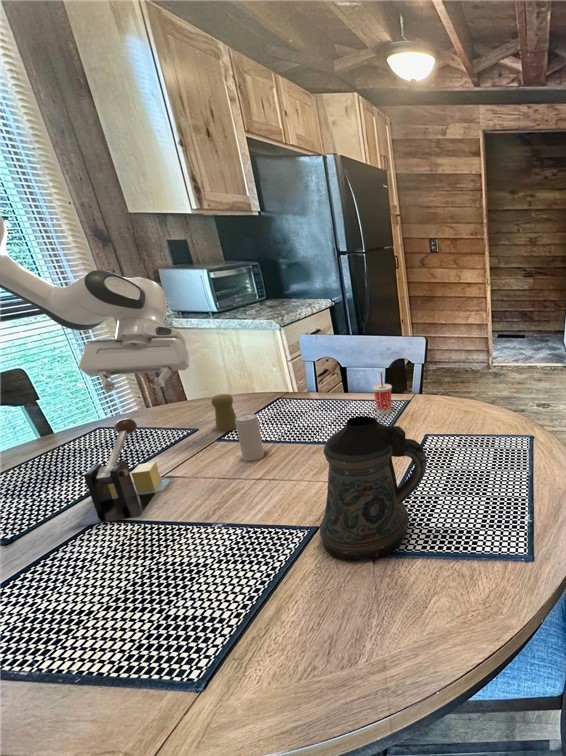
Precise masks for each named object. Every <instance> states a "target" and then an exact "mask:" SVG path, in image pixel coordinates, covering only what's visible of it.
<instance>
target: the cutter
mask: <svg viewBox="0 0 566 756" xmlns="http://www.w3.org/2000/svg"><path fill="white" fill-rule="evenodd" d="M100 467H103V465H102V463H95V464H93V465H92V466H91V467H90V468H89V469H88V470H87V471H86V472H85V473H84V474H83V478H84V481H85V484H86V486H87V489H88V491H89V492H88V493H89V495H90V498H91V501H92V503H93V507H92V508H91V509H90V510H89V511H88V513H87V514H86V515H85V516H84V517H83V519H82V520H81V521H79V523H78V524H77V525H76V528H80V527H85V526H92V525H97V524H103V523H110V522H115V521H121V520H128V519H131V518H132V519H133V518H139V517H141V516H142V514H143V513H144V512H145V510H146V509H147V507H148V506H149V505H150V503H151V501H152V500H153V499H154V497H155V495H156V494H157V492H158V491H155V492H148V493H142V494H136V492H135V489H134V485H133V484H134V481H133V478H132V475H131V472H130V469H129V467H128V464H127V460H118V461H117V464H116V465H115V466H114V467H113V469H112V470H111V471H110V474H111V477H112V480H113V483H114V486H115V489H116V492H117V495H118V497H115V498H112V495H111V492H110V489H109V486H108V484H106V485H101V484H100V483H99V482H98V480H97V479H96V477H97V474H98V472H99V469H100Z"/></svg>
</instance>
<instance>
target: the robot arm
mask: <svg viewBox="0 0 566 756" xmlns="http://www.w3.org/2000/svg"><path fill="white" fill-rule="evenodd" d="M7 238H8V228H7V225H6V222H5V220H4V218H3V217H2V215H1V214H0V289H2V290H3V291H5V292H6V293H9V294H11V295H13V296H14V297H17V298H18V299H20V300H22V301H23V302H26V303H27V304H29V305H31V306H33V307H34V308H36V309H37V310H38V311H40V312H42V313H43V314H44V315H46V316H47V317H48V318H49V319H50V320H52V321H53V322H55V323H56V324H58V325H60V326H62V327H64V328H67V329H69V330H75V331H89V330H93V329H95V328H97V327H98V326H99V325H101V324H102V323H104V321H106V320H108V319H109V318H113V319H115V320H116V322H117V325H116V331H115V338H105V339H102V338H97V339H92V340H91V341H89V342H87V343H84V346H83V352H82V354H81V357H80V359H79V363H78V368H79V370H80V371H82V372H83V373H84V374H85V375H87V376H88V377H99V378H100V379H101V381H102V389H103V390H104V391H106V392H110V391H111V392H112V391H115V390H116V383H114V381H112V380H110V379H111V377H112V376H117V375H131V374H132V375H133V374H146V373H160V374H159V375H158V377H153V385H154V386H155V388H163V387H165V382H166V381H167V379H168V378H170V376H171V375H172V372H176V371H186V370H187V369H189V367H190V365H191V364H190V363H191V361H190V352H189V350H188V348H187V341H186V339H185V337H184V336H183V335H182V333H181V332H180V331H179V330H178V329H176V328H174V327H169V326H164V321H165V319H166V315H167V298H166V294H165V291H164V289H163V288H162V286H161V285H160V284H159V283H157V282H155V281H154V280H151V279H148V278H145V277H124V276H121V275H119V274H117V273H114V272H111V271H108V270H103V269H95V270H92V271H89V272H88V273H85V274H84V275H82V276H79V278H77V279H75V280H74V281H73V282H71V283H69V284H68V285H66V286H60V285H55V284H52V283H51V282H49V281H47V280H46V279H44V278H42V277H40V276H39V275H37V274H36V273H34V272H32V271H31V270H29V269H27V268H25V267H24V266H22V265H21V264H19V263H18V262H16V261H15V260H13V258H11V256H10V255H9V254H8V252H7V248H6V244H7V240H8V239H7Z"/></svg>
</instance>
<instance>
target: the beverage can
mask: <svg viewBox="0 0 566 756" xmlns="http://www.w3.org/2000/svg"><path fill="white" fill-rule="evenodd" d="M236 417H237V418H236V419H235V420H236V421H235V423H236V431H237V437H238V442H239V447H240V452H241V457H242V460H244V461H246V462H247V461H248V462H249V461H259V460H261V459H262V458H263V457H264V456H265V452H264V445H263V441H262V435H261V429H260V424H259V423H260V422H259V418H258V416H257V414H255V413H245V414H241V415H238V416H236Z"/></svg>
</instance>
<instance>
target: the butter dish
mask: <svg viewBox="0 0 566 756" xmlns="http://www.w3.org/2000/svg"><path fill="white" fill-rule="evenodd" d="M170 481H171V478H165V479H161V482H160V484H159V485H158V486H157V488H156V489H155V490H152V491H146V492H139V493H137V490H136V487H135V484H134V483H133V485H134V489H135V492H136V495H142V494H148V493H155V492H161V491H164V489H165V488H166V487H167V485H168V483H170ZM112 498H113V499H116V498H118V496H112Z"/></svg>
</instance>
